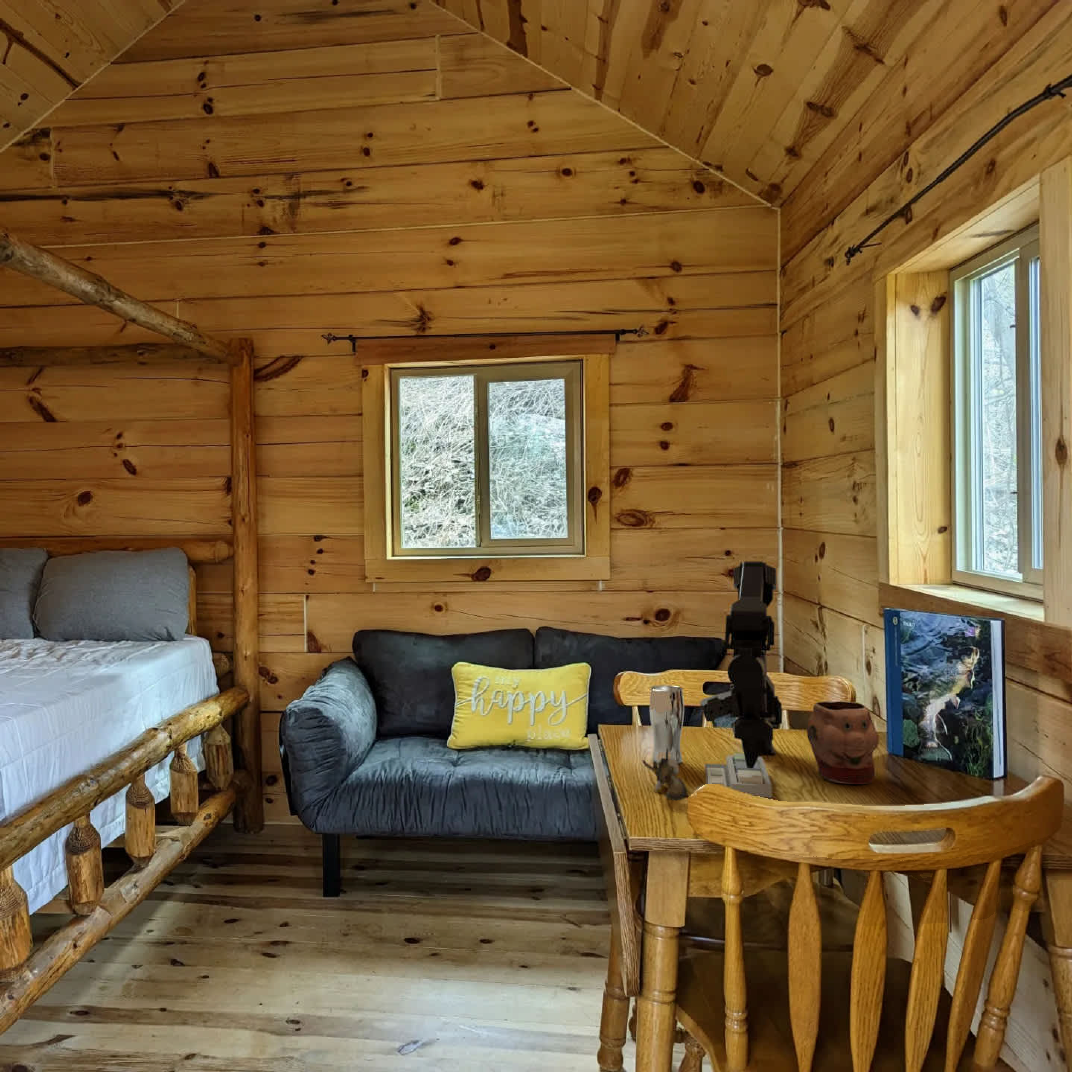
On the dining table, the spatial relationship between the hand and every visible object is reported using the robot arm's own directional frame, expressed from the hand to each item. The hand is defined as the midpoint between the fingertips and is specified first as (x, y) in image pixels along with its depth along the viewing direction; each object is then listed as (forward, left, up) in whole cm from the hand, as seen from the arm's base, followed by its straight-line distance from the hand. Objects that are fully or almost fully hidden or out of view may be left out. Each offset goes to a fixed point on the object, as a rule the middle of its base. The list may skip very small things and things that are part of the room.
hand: (749, 767), depth 136 cm
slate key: (-5, 0, -3) cm, 6 cm away
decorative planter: (-15, +18, -5) cm, 24 cm away
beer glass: (-19, -15, -5) cm, 25 cm away
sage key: (-11, 0, -3) cm, 11 cm away
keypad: (-5, -2, -5) cm, 8 cm away
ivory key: (0, 0, -3) cm, 3 cm away
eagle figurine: (0, -15, -5) cm, 16 cm away
